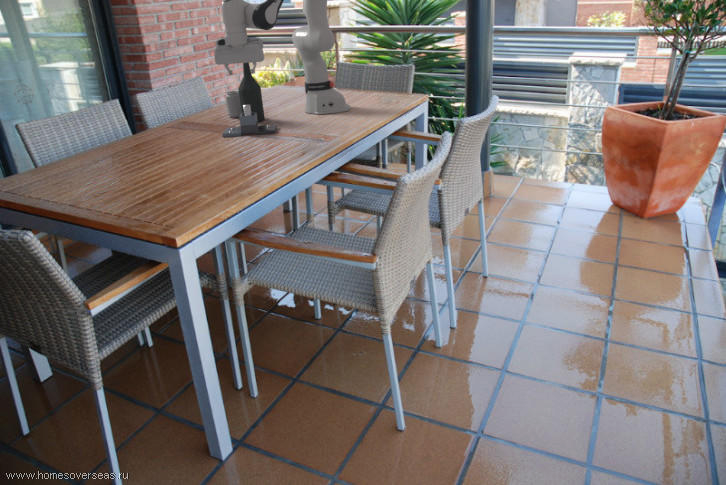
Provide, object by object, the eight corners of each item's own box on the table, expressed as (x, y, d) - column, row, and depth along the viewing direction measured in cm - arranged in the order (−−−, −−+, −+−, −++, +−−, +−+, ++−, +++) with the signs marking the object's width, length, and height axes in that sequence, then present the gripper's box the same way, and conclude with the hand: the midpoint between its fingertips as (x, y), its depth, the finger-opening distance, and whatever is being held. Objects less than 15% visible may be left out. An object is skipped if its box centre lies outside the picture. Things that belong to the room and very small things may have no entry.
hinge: (277, 127, 255) (274, 109, 252) (275, 133, 246) (272, 115, 243) (226, 131, 255) (223, 113, 251) (222, 137, 246) (219, 118, 242)
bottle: (259, 123, 265) (250, 56, 252) (240, 123, 267) (230, 56, 254) (267, 118, 274) (259, 52, 261) (248, 118, 276) (239, 53, 263)
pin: (254, 131, 252) (250, 104, 247) (253, 133, 249) (249, 105, 244) (247, 131, 252) (243, 104, 247) (246, 133, 249) (242, 105, 244)
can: (245, 114, 284) (242, 89, 279) (241, 118, 277) (237, 93, 272) (231, 114, 285) (227, 90, 280) (226, 118, 278) (222, 93, 273)
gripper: (263, 37, 237) (267, 71, 243) (213, 40, 236) (219, 74, 242) (261, 38, 231) (266, 73, 237) (210, 42, 231) (216, 77, 237)
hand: (242, 74), depth 240 cm, fingers open, 8 cm apart
